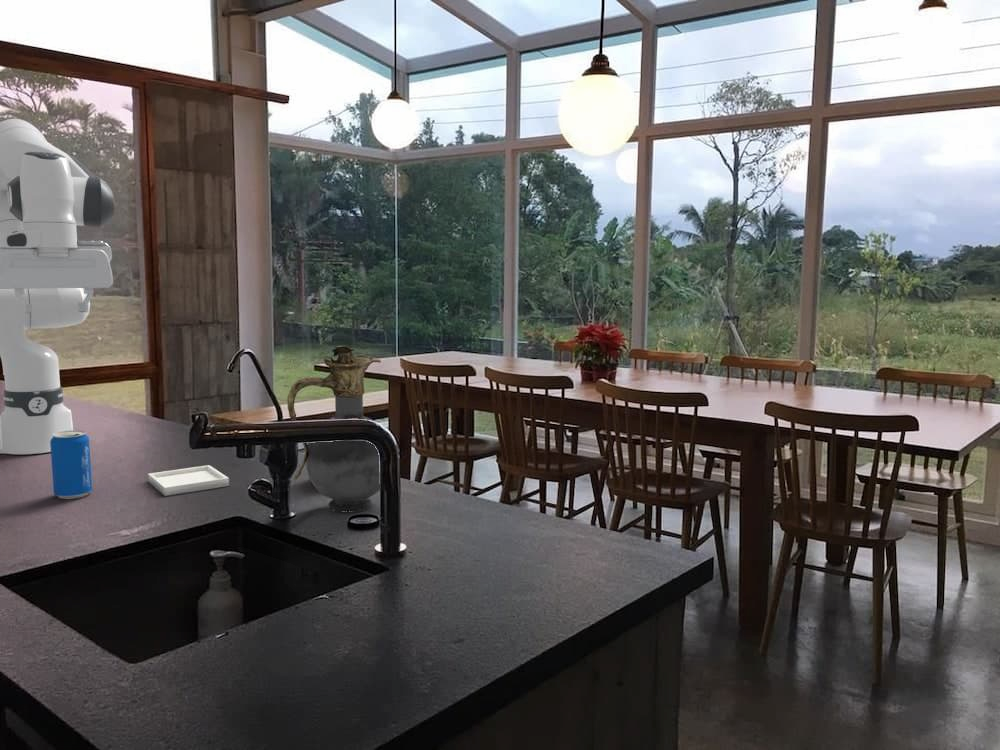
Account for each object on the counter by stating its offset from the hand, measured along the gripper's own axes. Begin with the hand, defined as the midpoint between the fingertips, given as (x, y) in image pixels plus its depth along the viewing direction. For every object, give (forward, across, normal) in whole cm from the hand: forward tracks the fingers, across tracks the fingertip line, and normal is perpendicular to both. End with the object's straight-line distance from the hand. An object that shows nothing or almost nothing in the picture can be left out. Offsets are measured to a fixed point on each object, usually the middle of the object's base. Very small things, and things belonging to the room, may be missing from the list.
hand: (56, 312), depth 154 cm
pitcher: (+36, -39, +41) cm, 67 cm away
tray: (+34, -20, +10) cm, 41 cm away
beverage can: (+35, 0, +6) cm, 35 cm away
